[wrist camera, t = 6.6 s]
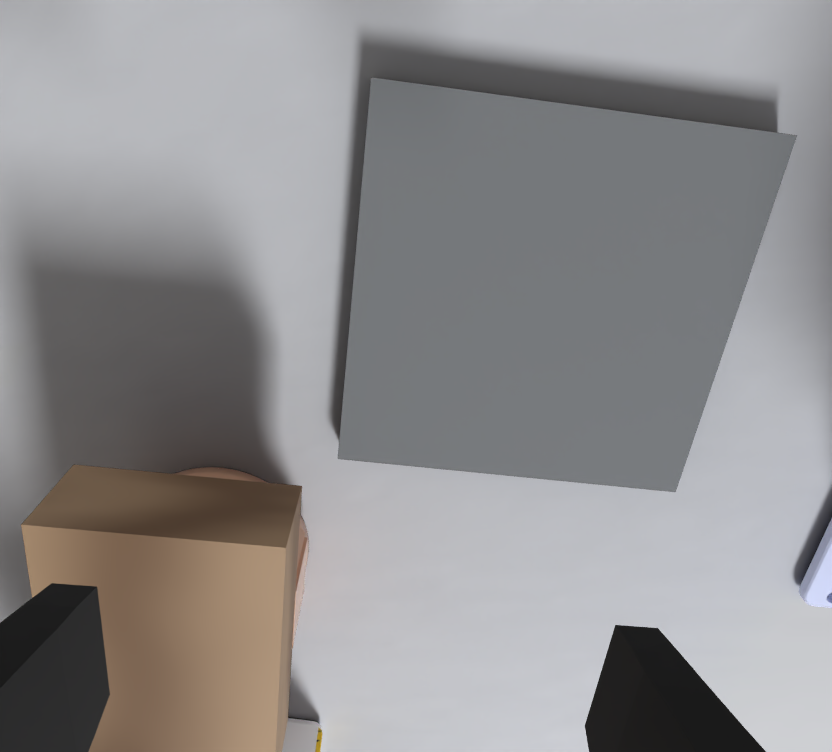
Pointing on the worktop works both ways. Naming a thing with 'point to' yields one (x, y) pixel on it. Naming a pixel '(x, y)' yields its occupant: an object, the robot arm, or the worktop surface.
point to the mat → (545, 283)
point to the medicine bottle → (302, 736)
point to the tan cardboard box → (179, 601)
